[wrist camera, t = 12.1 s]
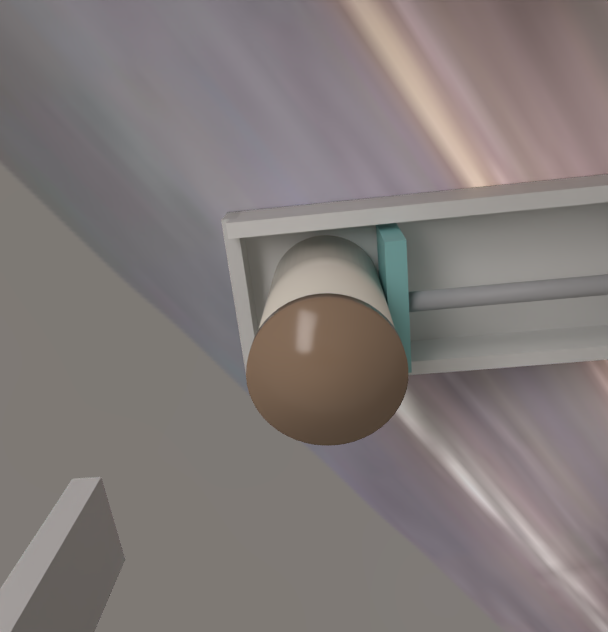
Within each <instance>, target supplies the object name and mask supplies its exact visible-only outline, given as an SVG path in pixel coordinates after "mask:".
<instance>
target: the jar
mask: <svg viewBox="0 0 608 632" xmlns="http://www.w3.org/2000/svg"><path fill="white" fill-rule="evenodd" d="M246 379H247V386H248V390H249V394H250V396H251V399H252V401H253V403H254V404H255V406H256V408H257V410H258V411H259V413H260V414H261V415H262V416H263V418H264V419H265V420H266V421H267V422H268V423H269V424H270V425H272V426H273V427H274V428H276V429H277V430H278V431H280V432H281V433H283V434H285V435H287V436H289V437H291V438H293V439H295V440H298V441H301V442H304V443H309V444H314V445H340V444H346V443H350V442H354V441H357V440H359V439H362V438H364V437H366V436H368V435H370V434H372V433H374V432H375V431H377V430H378V429H380V428H381V427H382V426H383V425H384V424H385V423H387V422H388V421H389V420H390V418H391V417H392V416H393V415H394V414H395V412H396V411H397V409H398V408H399V406H400V404H401V402H402V400H403V398H404V395H405V392H406V389H407V384H408V362H407V357H406V354H405V350H404V347H403V344H402V341H401V339H400V337H399V335H398V333H397V331H396V329H395V327H394V324H393V321H392V318H391V315H390V311H389V308H388V305H387V302H386V299H385V295H384V292H383V289H382V286H381V283H380V279H379V276H378V273H377V270H376V267H375V265H374V263H373V261H372V260H371V258H370V257H369V255H368V254H367V253H366V252H365V251H364V250H363V249H362V248H361V247H360V246H358V245H357V244H355V243H353V242H352V241H350V240H347V239H345V238H342V237H338V236H331V235H320V236H314V237H311V238H307V239H305V240H303V241H300V242H299V243H297V244H295V245H294V246H293V247H291V248H290V249H289V250H288V251H287V252H286V253H285V254H284V255H283V257H282V258H281V260H280V261H279V263H278V265H277V267H276V270H275V273H274V276H273V279H272V283H271V287H270V290H269V294H268V297H267V301H266V304H265V308H264V312H263V315H262V319H261V322H260V326H259V329H258V331H257V333H256V335H255V337H254V340H253V342H252V345H251V348H250V352H249V355H248V360H247V366H246Z"/></svg>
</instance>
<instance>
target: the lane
mask: <svg viewBox="0 0 608 632" xmlns="http://www.w3.org/2000/svg"><path fill="white" fill-rule="evenodd" d="M221 222H222V228H223V234H224V240H225V247H226V253H227V259H228V265H229V272H230V278H231V284H232V290H233V296H234V303H235V309H236V315H237V321H238V328H239V334H240V340H241V346H242V353H243V359H244V365H245V371H246V366H247V360H248V355H249V352H250V348H251V345H252V342H253V340H254V337H255V335H256V333H257V331H258V329H259V326H260V322H261V319H262V315H263V312H264V308H265V304H266V301H267V297H268V294H269V290H270V287H271V283H272V279H273V276H274V273H275V270H276V267H277V265H278V263H279V261H280V260H281V258H282V257H283V255H284V254H285V253H286V252H287V251H288V250H289V249H290V248H291V247H293V246H294V245H295V244H297V243H299V242H300V241H303V240H305V239H307V238H311V237H314V236H320V235H331V236H338V237H342V238H345V239H347V240H350V241H352V242H353V243H355V244H357V245H358V246H360V247H361V248H362V249H363V250H364V251H365V252H366V253H367V254H368V255H369V257H370V258H371V260H372V261H373V263H374V265H375V267H376V270H377V273H378V276H379V268H378V251H377V234H376V225H378V224H388V223H397V225H398V227H399V228H400V230H401V232H402V233H403V235H404V237H405V239H406V244H407V268H408V292H413V291H424V290H436V289H447V288H458V287H469V286H480V285H492V284H503V283H514V282H525V281H537V280H548V279H559V278H570V277H581V276H593V275H604V274H608V174H604V175H594V176H585V177H575V178H565V179H555V180H545V181H535V182H525V183H515V184H505V185H495V186H486V187H476V188H466V189H456V190H446V191H436V192H426V193H416V194H406V195H396V196H386V197H377V198H367V199H357V200H347V201H337V202H327V203H317V204H307V205H297V206H287V207H277V208H268V209H258V210H248V211H238V212H228V213H227V214H226V215H225V216H224V217H223V218H222V220H221ZM409 318H410V342H411V367H412V373H408V375H419V374H432V373H444V372H457V371H470V370H482V369H495V368H508V367H520V366H533V365H546V364H558V363H571V362H584V361H596V360H608V295H601V296H589V297H578V298H566V299H555V300H543V301H532V302H520V303H508V304H497V305H485V306H474V307H462V308H451V309H439V310H428V311H416V312H409Z"/></svg>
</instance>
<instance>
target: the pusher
mask: <svg viewBox="0 0 608 632" xmlns="http://www.w3.org/2000/svg"><path fill="white" fill-rule="evenodd" d="M376 234H377V251H378V268H379V279H380V283H381V286H382V289H383V292H384V295H385V299H386V302H387V305H388V308H389V311H390V315H391V318H392V321H393V324H394V327H395V329H396V331H397V333H398V335H399V337H400V339H401V341H402V344H403V347H404V350H405V354H406V357H407V362H408V373H412V367H411V342H410V318H409V312H416V311H428V310H439V309H451V308H462V307H474V306H485V305H497V304H508V303H520V302H532V301H543V300H555V299H566V298H578V297H589V296H601V295H608V274H604V275H593V276H581V277H570V278H559V279H548V280H537V281H525V282H514V283H503V284H492V285H480V286H469V287H458V288H447V289H436V290H424V291H413V292H408V268H407V244H406V239H405V237H404V235H403V233H402V232H401V230H400V228H399V227H398V225H397V223H388V224H378V225H376Z"/></svg>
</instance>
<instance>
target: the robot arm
mask: <svg viewBox="0 0 608 632" xmlns="http://www.w3.org/2000/svg"><path fill="white" fill-rule="evenodd" d="M124 561H125V558H124V554H123V550H122V547H121V543H120V540H119V536H118V533H117V530H116V526H115V523H114V519H113V516H112V512H111V509H110V506H109V502H108V499H107V495H106V492H105V488H104V485H103V481H102V478H101V477H93V478H78V479H72V480H71V482H70V483H69V485H68V486H67V488H66V490H65V491H64V493H63V494H62V496H61V497H60V499H59V500H58V502H57V503H56V505H55V506H54V508H53V509H52V511H51V512H50V514H49V516H48V517H47V519H46V520H45V521H44V523H43V525H42V526H41V528H40V529H39V531H38V532H37V534H36V535H35V537H34V538H33V540H32V541H31V543H30V544H29V546H28V547H27V549H26V550H25V552H24V553H23V555H22V557H21V558H20V560H19V561H18V563H17V564H16V566H15V567H14V569H13V570H12V572H11V573H10V575H9V576H8V578H7V579H6V581H5V582H4V584H3V585H2V587H1V588H0V632H94V631H95V629H96V627H97V624H98V622H99V619H100V617H101V615H102V613H103V610H104V608H105V606H106V603H107V601H108V598H109V596H110V594H111V592H112V589H113V586H114V585H115V582H116V580H117V577H118V575H119V573H120V570H121V568H122V566H123V563H124Z"/></svg>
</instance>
